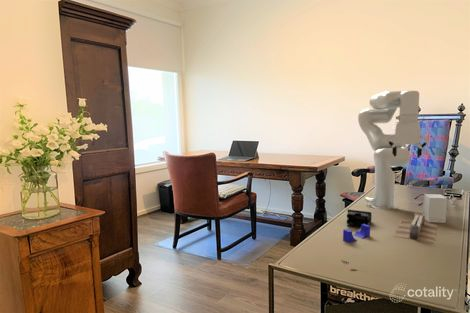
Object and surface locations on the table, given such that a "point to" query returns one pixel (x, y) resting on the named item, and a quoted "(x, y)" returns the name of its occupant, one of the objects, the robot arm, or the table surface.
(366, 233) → the blue cradle stand
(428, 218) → the supplement box
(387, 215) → the table surface
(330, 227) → the table surface
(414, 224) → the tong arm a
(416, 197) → the eyeglasses
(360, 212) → the end cap
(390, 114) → the robot arm
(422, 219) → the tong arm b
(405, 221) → the tong board
